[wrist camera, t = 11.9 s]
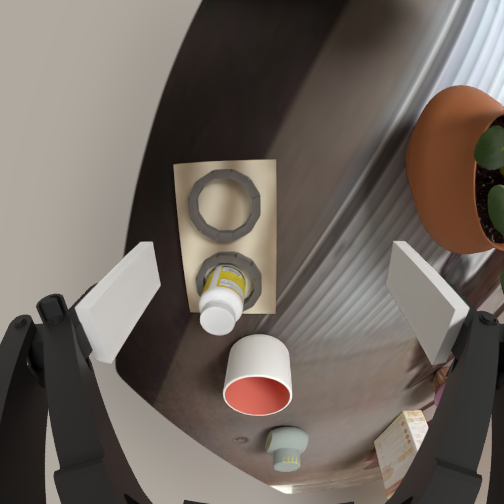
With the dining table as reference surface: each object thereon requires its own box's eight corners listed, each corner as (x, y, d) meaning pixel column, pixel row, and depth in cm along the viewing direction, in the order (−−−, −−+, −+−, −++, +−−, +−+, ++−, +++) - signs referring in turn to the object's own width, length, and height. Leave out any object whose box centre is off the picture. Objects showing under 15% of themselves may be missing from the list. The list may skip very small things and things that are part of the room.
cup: (291, 369, 47) (294, 412, 38) (236, 374, 48) (231, 417, 39) (285, 326, 44) (288, 371, 34) (224, 333, 45) (214, 377, 36)
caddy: (275, 159, 34) (276, 160, 32) (275, 310, 42) (275, 319, 40) (175, 163, 35) (169, 165, 33) (191, 308, 43) (187, 317, 41)
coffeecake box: (392, 440, 58) (407, 494, 40) (372, 441, 58) (385, 499, 40) (422, 409, 53) (445, 468, 35) (402, 410, 53) (424, 473, 35)
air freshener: (274, 419, 54) (274, 456, 44) (310, 422, 54) (313, 458, 45) (263, 441, 58) (262, 474, 48) (295, 443, 58) (297, 476, 49)
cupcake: (431, 364, 47) (449, 397, 37) (461, 354, 46) (481, 384, 37) (421, 390, 50) (435, 422, 41) (450, 381, 49) (466, 410, 40)
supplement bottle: (216, 300, 41) (203, 343, 32) (202, 268, 39) (185, 306, 30) (251, 292, 40) (246, 335, 31) (239, 259, 38) (231, 296, 29)
